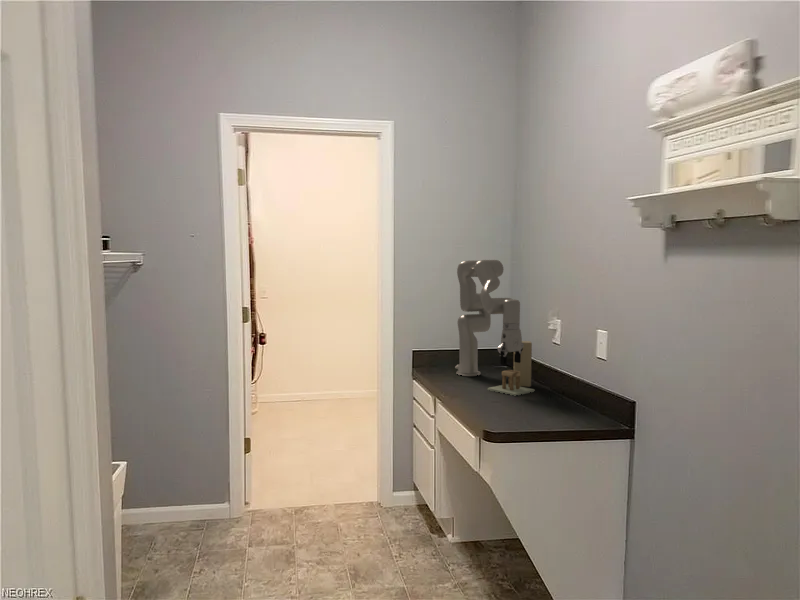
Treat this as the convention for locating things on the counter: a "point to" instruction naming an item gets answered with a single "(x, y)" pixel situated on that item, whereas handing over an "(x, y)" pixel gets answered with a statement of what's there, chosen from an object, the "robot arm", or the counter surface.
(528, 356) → the beige block
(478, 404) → the counter surface
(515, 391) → the sage mat
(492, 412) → the counter surface
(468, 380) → the counter surface
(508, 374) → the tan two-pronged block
